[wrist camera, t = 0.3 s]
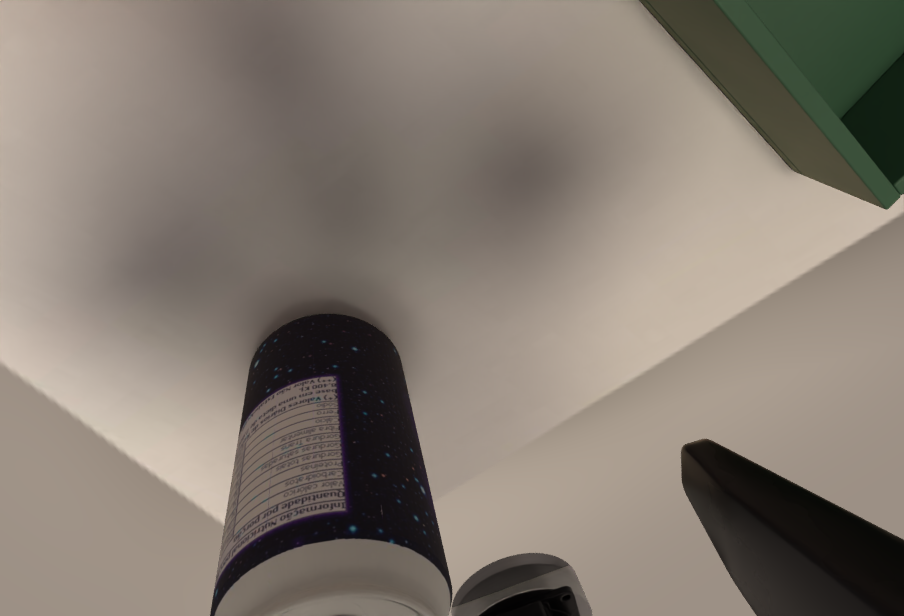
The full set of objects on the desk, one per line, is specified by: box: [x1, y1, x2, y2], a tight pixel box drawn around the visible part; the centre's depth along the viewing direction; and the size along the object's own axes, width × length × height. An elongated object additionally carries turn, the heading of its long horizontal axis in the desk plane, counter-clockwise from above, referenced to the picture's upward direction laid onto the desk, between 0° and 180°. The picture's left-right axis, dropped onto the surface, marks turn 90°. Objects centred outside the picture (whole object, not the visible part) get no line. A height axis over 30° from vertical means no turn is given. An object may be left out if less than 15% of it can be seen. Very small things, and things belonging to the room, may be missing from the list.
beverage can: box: [210, 314, 452, 616], centre depth 19 cm, size 6×6×12 cm
